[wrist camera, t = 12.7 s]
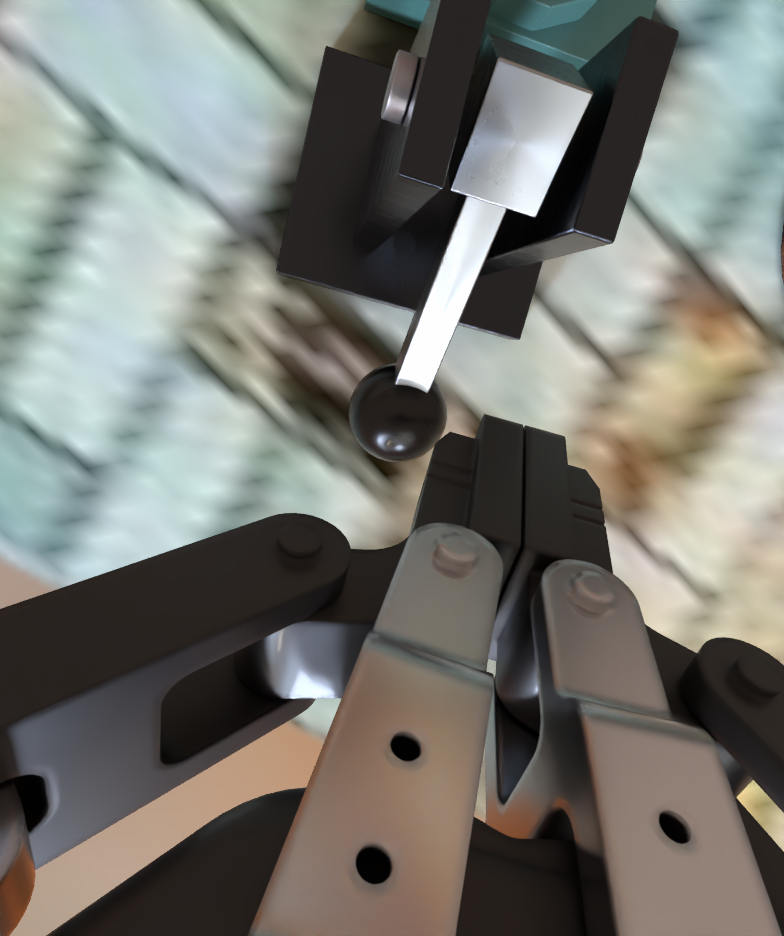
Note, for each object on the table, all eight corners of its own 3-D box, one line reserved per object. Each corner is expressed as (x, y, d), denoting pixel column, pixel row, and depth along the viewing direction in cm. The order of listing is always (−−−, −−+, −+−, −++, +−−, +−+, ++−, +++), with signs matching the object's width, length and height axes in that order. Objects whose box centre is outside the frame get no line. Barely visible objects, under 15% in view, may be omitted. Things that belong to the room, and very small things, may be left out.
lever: (427, 428, 24) (429, 491, 21) (342, 407, 23) (334, 470, 21) (589, 67, 16) (621, 105, 13) (465, 20, 15) (476, 52, 13)
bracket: (510, 339, 27) (686, 354, 15) (276, 274, 25) (256, 228, 13) (567, 143, 26) (814, -21, 14) (324, 58, 24) (352, -223, 12)
